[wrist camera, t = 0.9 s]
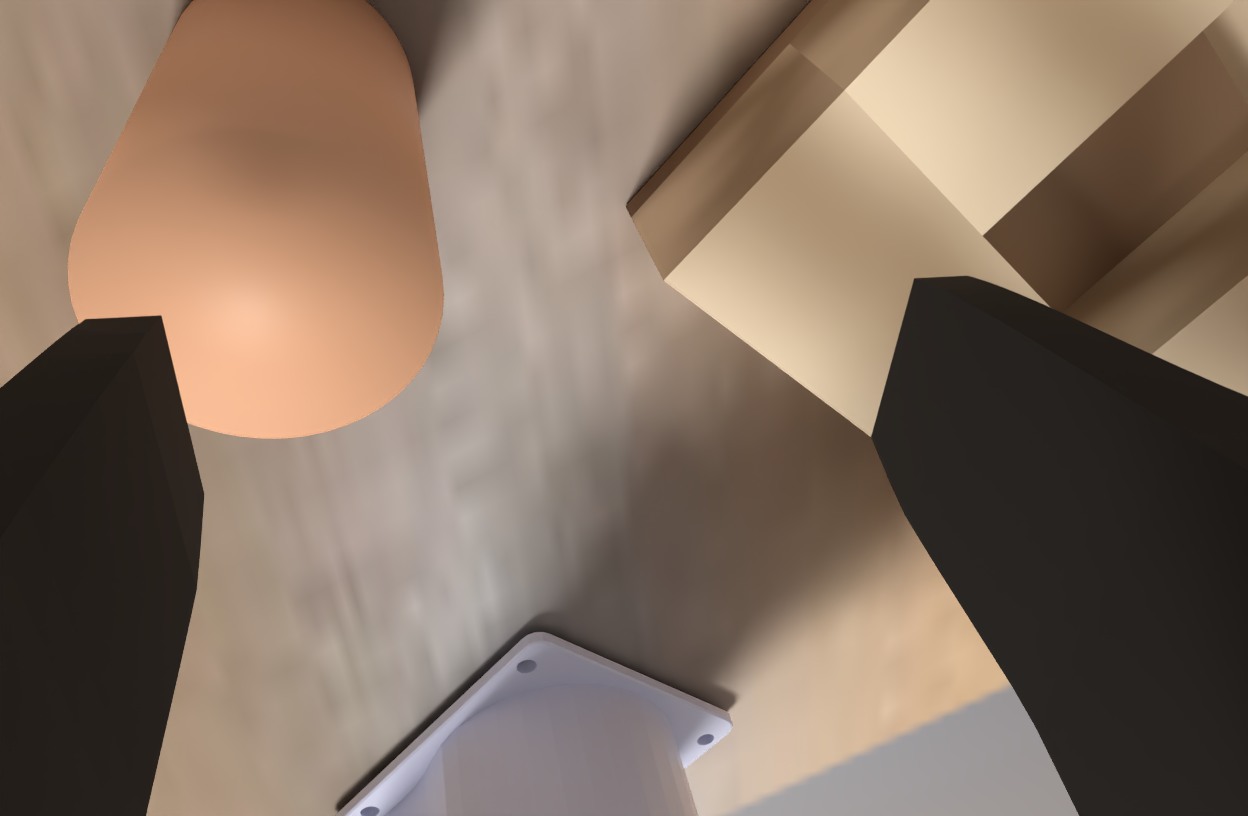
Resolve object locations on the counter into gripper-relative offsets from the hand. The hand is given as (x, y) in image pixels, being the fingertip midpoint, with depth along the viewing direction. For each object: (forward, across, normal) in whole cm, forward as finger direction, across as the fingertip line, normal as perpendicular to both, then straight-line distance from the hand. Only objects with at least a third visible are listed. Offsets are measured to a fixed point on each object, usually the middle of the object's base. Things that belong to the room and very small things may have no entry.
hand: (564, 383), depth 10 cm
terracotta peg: (+10, +3, 0) cm, 10 cm away
